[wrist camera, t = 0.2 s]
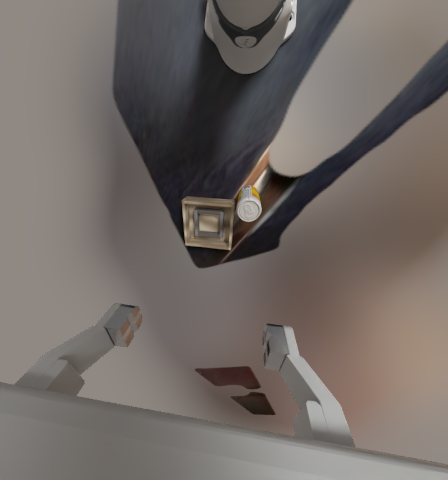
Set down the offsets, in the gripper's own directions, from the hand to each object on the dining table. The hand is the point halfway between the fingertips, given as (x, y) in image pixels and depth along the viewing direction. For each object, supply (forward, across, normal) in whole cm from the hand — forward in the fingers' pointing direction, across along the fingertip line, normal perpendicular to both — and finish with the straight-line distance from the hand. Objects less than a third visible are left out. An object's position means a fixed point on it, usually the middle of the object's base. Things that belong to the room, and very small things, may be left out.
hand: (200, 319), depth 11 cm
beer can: (+47, -4, +4) cm, 48 cm away
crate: (+47, +8, +14) cm, 50 cm away
